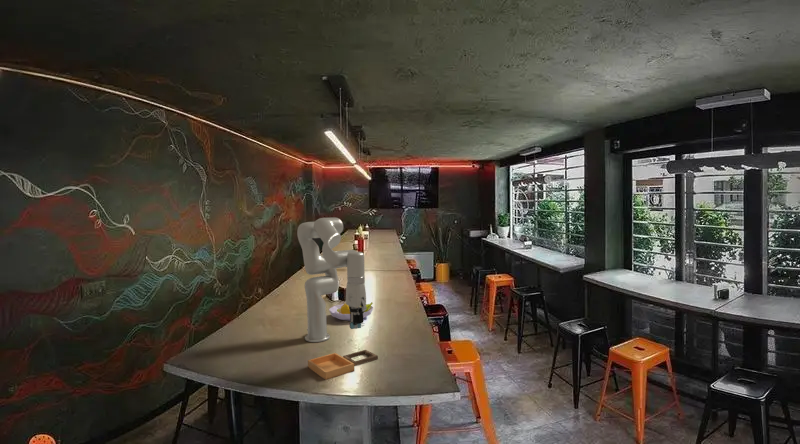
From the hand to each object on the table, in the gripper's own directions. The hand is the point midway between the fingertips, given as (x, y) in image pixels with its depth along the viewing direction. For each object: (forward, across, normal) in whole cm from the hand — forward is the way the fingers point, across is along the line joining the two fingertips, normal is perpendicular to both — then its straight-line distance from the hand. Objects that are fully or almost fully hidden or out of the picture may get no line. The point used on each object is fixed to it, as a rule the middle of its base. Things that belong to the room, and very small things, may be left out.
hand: (356, 321), depth 171 cm
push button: (+3, 0, 0) cm, 3 cm away
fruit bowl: (+18, -57, +33) cm, 69 cm away
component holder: (+17, 0, +1) cm, 17 cm away
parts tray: (+17, +1, -14) cm, 22 cm away
